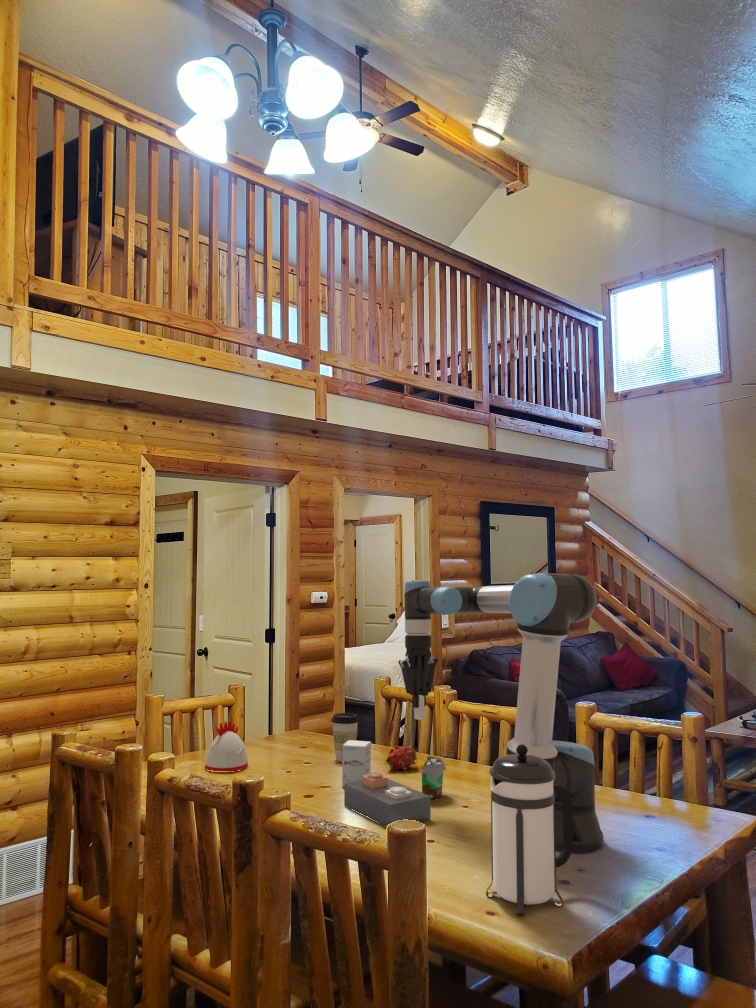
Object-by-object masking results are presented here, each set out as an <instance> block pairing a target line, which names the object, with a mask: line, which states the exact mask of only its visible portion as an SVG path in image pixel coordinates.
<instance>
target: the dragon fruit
mask: <svg viewBox="0 0 756 1008" xmlns="http://www.w3.org/2000/svg"><path fill="white" fill-rule="evenodd" d="M385 762H386V763H387V764H388V765H389V768H390V770H391V771H392V770H395V771H398V770H400V769H402V770H403V771H404V772H405V771H406V770H408V769H409V770H410V768H411V766H414V765H416V764H417V750H415V748H413V746H411V745H409V746H406V745H405V744H404V743H403V744H402V746H400V745H396V746H394V748H391V749H390V750H389V753H388V756H387V759H386V761H385Z"/></svg>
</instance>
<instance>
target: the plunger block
mask: <svg viewBox="0 0 756 1008" xmlns="http://www.w3.org/2000/svg"><path fill="white" fill-rule="evenodd" d="M392 787H404V788H406V789H407V791H410V792H411V796H410V797H405V798H401V799H393V798H391V797H389V796H387V795H385V790H390V788H392ZM343 788H344V795H343V796H344V797H343V799H344V800H343V802H344V805H345V806H347V807H349V808H351V809H353V810H355V811H357V812H359V813H361V814H363V815H365V816H368V817H369V818H371V819H373V820H375V821H377V822H379V823H380V824H381V825H380V824H379V825H380V826H382V825H383V826H382V827H384V826H385V828H386V826H387V825H388V824H390V823H392V822H394V821H397V820H403V819H408V820H416V821H419V823H424V822H427V821H431V818H432V817H431V816H432V815H431V813H432V811H431V802H432V801H431V799H430V796H429V795H426V794H424V793H422V791H420V790H417V789H414V788H412V787H409V786H407V785H405V784H402V783H399V782H397V781H395V780H393V779H389V778H388V786H385V787H380V788H375V789H371V788H369V787H367V786H364V785H362V781H357V782H351V783H346V784H345V786H344V787H343ZM344 805H343V806H344ZM345 806H344V807H345ZM347 807H346V808H347ZM349 808H348V809H349ZM351 809H350V810H351ZM353 810H352V811H353ZM355 811H354V812H355ZM357 812H356V813H357ZM359 813H358V814H359ZM361 814H360V815H361ZM363 815H362V816H363ZM365 816H364V817H365ZM369 818H368V819H369Z"/></svg>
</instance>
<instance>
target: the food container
mask: <svg viewBox="0 0 756 1008" xmlns="http://www.w3.org/2000/svg"><path fill="white" fill-rule="evenodd" d="M444 761H445V760H444V759H442V758H441V757H437V756H434V755H433V756H432V755H427V756H426V761H425V762H424V765H423V764H422V765H421V792H422V793H424V794H426V795H429V796H430V799H431V802H432V801H438V800H440V799H441V798H442V796H443V784H444V783H443V781H444V780H443V779H444V771H445V770H446V763H445V762H444Z"/></svg>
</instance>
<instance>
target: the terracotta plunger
mask: <svg viewBox="0 0 756 1008" xmlns="http://www.w3.org/2000/svg"><path fill="white" fill-rule="evenodd" d="M388 779H389V778H388V777H387V776H385V775H384V774H383V773H382V772H378V771H377V772H375V771H372V772H371V771H370V773H368V774H367V775H365V776H363V780H362V785H364V786H367V787H369V788H371V789H375V788H380V787H385V786H388Z"/></svg>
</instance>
